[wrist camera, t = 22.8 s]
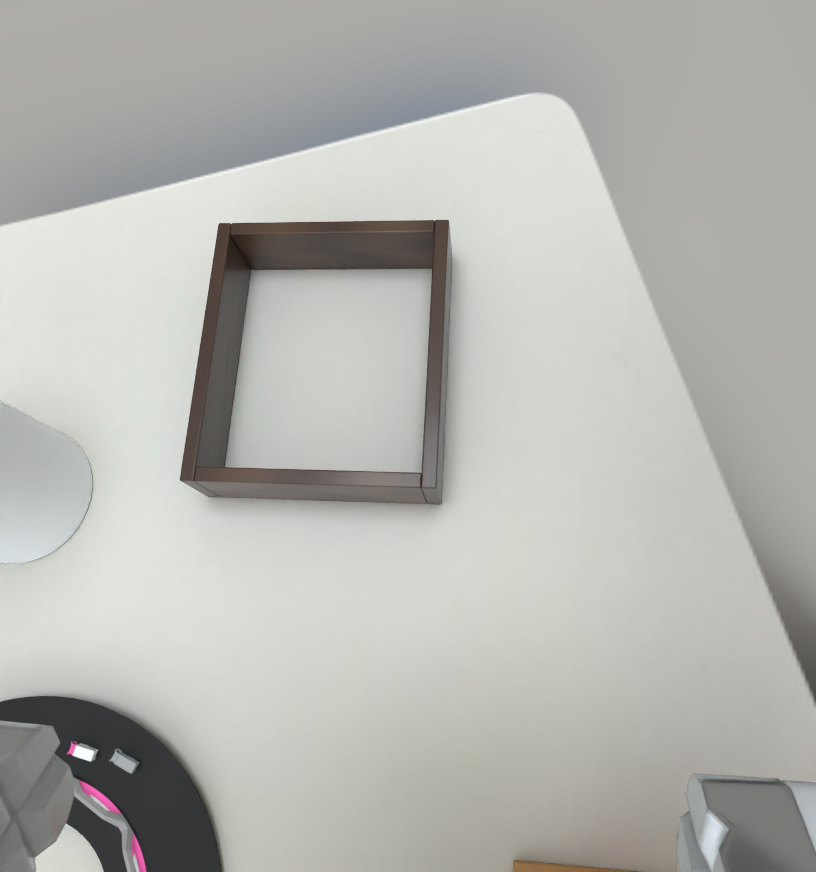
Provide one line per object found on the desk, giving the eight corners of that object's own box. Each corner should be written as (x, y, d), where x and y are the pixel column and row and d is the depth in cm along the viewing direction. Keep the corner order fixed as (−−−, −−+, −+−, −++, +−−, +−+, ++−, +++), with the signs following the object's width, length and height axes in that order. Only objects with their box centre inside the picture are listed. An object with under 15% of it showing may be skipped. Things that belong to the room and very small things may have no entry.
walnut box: (452, 256, 44) (448, 219, 41) (441, 504, 40) (436, 488, 36) (240, 258, 46) (218, 222, 42) (207, 496, 42) (178, 480, 38)
